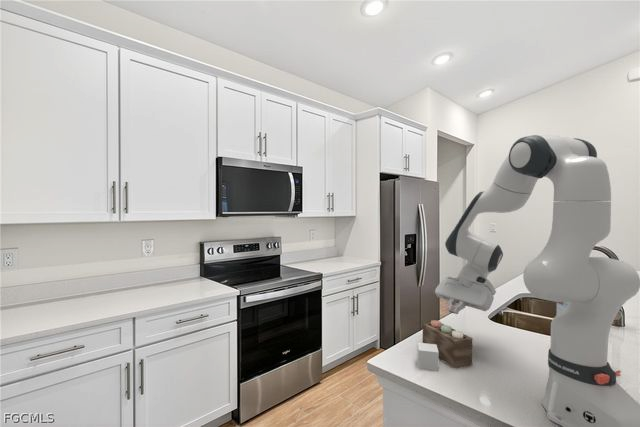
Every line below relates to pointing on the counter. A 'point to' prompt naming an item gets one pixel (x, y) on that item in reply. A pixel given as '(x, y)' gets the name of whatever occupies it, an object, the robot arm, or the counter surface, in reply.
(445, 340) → the brown wooden box
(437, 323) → the terracotta button
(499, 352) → the counter surface
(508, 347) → the counter surface
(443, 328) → the sage button
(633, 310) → the counter surface
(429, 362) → the grey cube
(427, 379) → the counter surface
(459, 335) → the cream button
